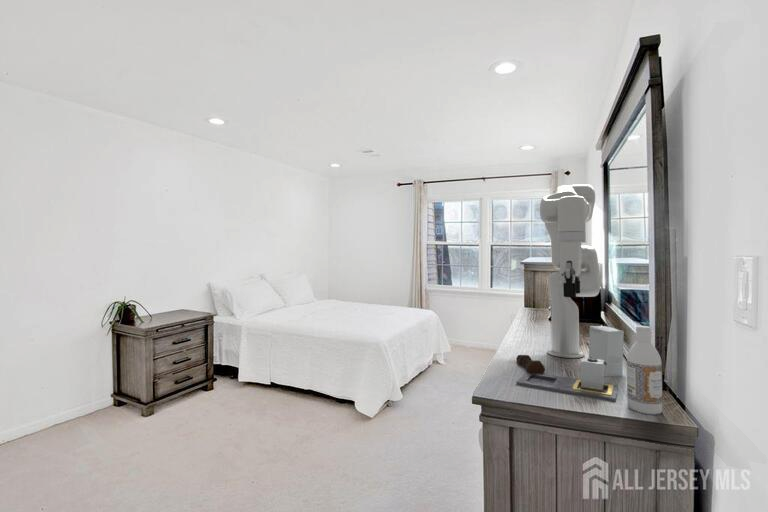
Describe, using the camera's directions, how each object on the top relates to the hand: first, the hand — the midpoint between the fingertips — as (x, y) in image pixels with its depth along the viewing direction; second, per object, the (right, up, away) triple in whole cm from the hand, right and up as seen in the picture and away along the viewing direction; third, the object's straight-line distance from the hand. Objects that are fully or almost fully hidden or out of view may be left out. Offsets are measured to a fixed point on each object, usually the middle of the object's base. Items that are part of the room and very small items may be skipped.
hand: (572, 295), depth 115 cm
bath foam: (+6, -26, -23) cm, 35 cm away
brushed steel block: (0, -25, -12) cm, 27 cm away
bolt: (-9, -26, +11) cm, 30 cm away
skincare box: (+13, -26, +4) cm, 29 cm away
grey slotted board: (-6, -26, -8) cm, 28 cm away
